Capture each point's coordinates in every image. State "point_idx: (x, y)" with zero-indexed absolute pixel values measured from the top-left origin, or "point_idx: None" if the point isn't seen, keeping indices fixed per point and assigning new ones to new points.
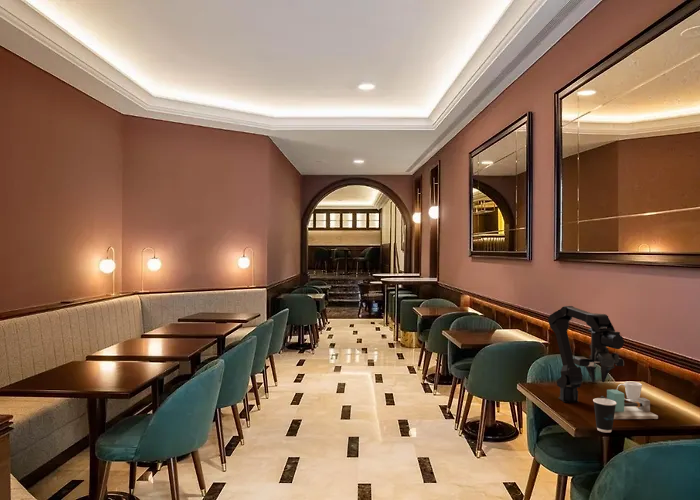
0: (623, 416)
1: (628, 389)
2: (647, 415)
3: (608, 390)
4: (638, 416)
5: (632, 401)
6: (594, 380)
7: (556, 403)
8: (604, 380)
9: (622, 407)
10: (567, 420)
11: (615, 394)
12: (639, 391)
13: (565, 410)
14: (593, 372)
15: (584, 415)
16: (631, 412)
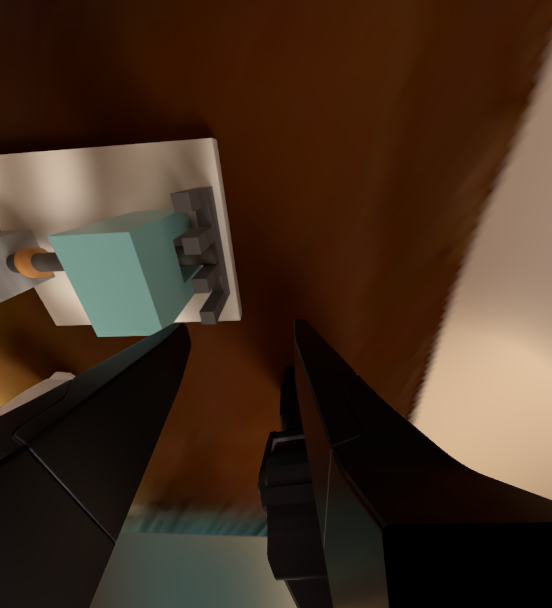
0: (157, 143)
1: None
2: (15, 161)
3: (159, 317)
4: (70, 150)
5: (70, 376)
6: (297, 326)
7: (384, 360)
8: (164, 329)
9: (130, 214)
10: (530, 91)
11: (128, 229)
12: (4, 405)
13: (407, 276)
14: (351, 409)
15: (356, 201)
16: (96, 214)
